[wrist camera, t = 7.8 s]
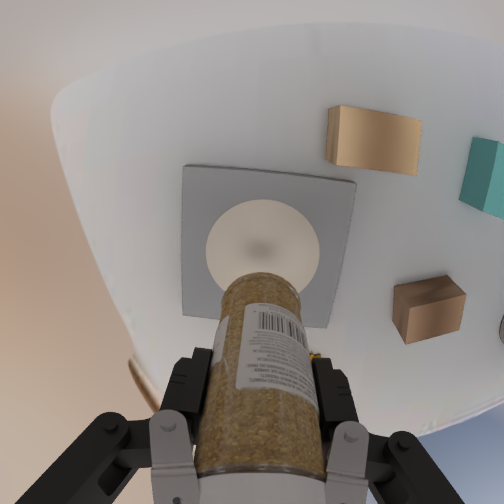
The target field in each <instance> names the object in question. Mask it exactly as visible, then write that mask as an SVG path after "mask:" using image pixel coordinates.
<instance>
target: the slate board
mask: <svg viewBox="0 0 504 504" xmlns="http://www.w3.org/2000/svg"><path fill="white" fill-rule="evenodd" d="M356 186H357V184H356V183H355V182H353V181H348V180H341V179H334V178H327V177H319V176H312V175H303V174H295V173H286V172H277V171H266V170H256V169H244V168H231V167H217V166H201V165H186V166H183V184H182V234H181V258H182V308H183V315H184V316H192V317H201V318H209V319H218V320H220V318H221V301H222V297H223V295H224V293H225V291H226V290H227V288H228V287H229V285H230V284H231V283H232V282H233V281H235V280H236V279H237V278H239V277H241V276H244V275H246V274H251V273H255V272H268V273H272V274H275V275H278V276H280V277H283V278H284V279H285V280H287V281H288V282H289V283H291V285H292V286H293V287H294V288H295V289H296V291H297V293H298V295H299V298H300V302H301V310H300V315H301V320H302V326H303V327H314V328H327V326H328V322H329V318H330V314H331V310H332V306H333V302H334V298H335V294H336V289H337V285H338V280H339V276H340V271H341V267H342V262H343V257H344V253H345V248H346V243H347V237H348V232H349V227H350V221H351V216H352V210H353V204H354V198H355V192H356Z"/></svg>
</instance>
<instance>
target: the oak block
mask: <svg viewBox="0 0 504 504" xmlns="http://www.w3.org/2000/svg"><path fill="white" fill-rule="evenodd" d="M421 125H422V121H421V120H417V119H413V118H408V117H403V116H399V115H394V114H389V113H384V112H378V111H373V110H367V109H361V108H355V107H348V106H341V105H340V106H337V107H334V108H331V109H329V114H328V131H327V145H326V159H325V160H327V161H329V162H331V163H333V164H335V165H338V166H348V167H356V168H364V169H372V170H380V171H387V172H394V173H400V174H407V175H413V176H417V168H418V159H419V149H420V138H421Z"/></svg>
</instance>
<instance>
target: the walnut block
mask: <svg viewBox="0 0 504 504" xmlns="http://www.w3.org/2000/svg"><path fill="white" fill-rule="evenodd" d="M465 298H466V294H465V293H464V291H463V290H462V289H461V288H460V287H459V286H458V285H457V284H456V283H455V282H454V281H453V280H452V279H451V278H450V277H449V276H447V275H445V276H440V277H436V278H431V279H426V280H422V281H417V282H412V283H407V284H402V285H397V286H394V303H393V318H392V321H393V323H394V325H395V326H396V328H397V330H398V332H399V334H400V336H401V337H402V339H403V341H404V343H405V344H410V343H414V342H417V341H421V340H425V339H429V338H433V337H436V336H440V335H443V334H447V333H450V332H454V331H457V330H459V328H460V323H461V319H462V314H463V309H464V304H465Z"/></svg>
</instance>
